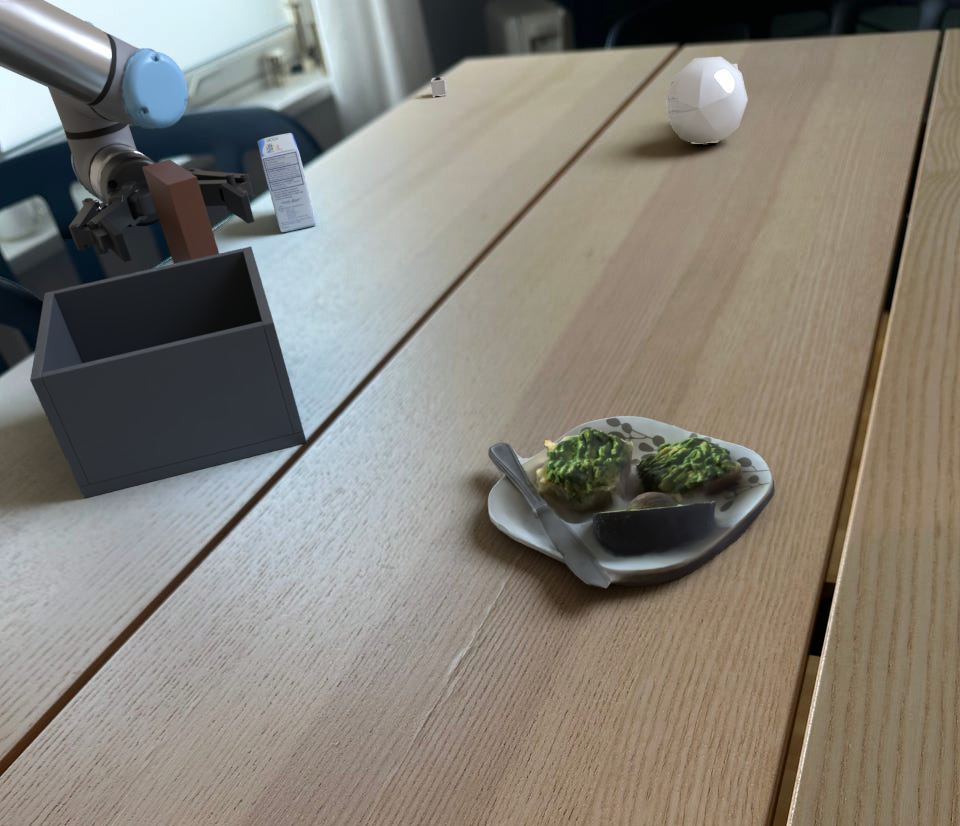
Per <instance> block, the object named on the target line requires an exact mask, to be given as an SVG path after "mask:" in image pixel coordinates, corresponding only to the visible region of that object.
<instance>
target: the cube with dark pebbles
mask: <svg viewBox="0 0 960 826" xmlns="http://www.w3.org/2000/svg"><path fill="white" fill-rule="evenodd" d="M430 87H431V94H432V97H433V96H438V95H443V94H446V92H447V93H448V85H447V79H446V76H442V77H441V76H437V77H432V78H431V80H430Z"/></svg>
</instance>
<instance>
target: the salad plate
mask: <svg viewBox="0 0 960 826" xmlns="http://www.w3.org/2000/svg"><path fill="white" fill-rule="evenodd" d="M542 444H543V446H544V447H545V448H544V449H542V450H541V451H540V452H538V453H536V454H535V455H533V456H532V457H525V458H524V457H521V456H520V455H518V454H517V452H516V451H515V449H514V448H513V447H512V446H511V444H510V443H508V442H498V443H495V444H493V445H491V446H490V447H488V454H487V455H488V457H489V459H490V461H491V463H493V465H494V466H495V468H496V470H497V471H498V473H499V477H500V478H499V480H497V482H496V483H495V484H494V485H493V487H492V488H491V490H490V491H489V494H488V498H487V508H488V517H489V520H490V522H491V523H492V524H493V525H494V526H495V527H496V528H497V529H498V530H499V531H501V532H502V533H503V534H505V535H506V536H508V537H509V538H511V539H512V540H514V541H516V542H518V543H520V544H522V545H524V546H526V547H528V548H530V549H533V550H535V551H537V552H539V553H542V554H544V555H546V556H547V557H550V558H552V559H553V560H556V561H559V562H560V563H563V564H564V565H566V567H567V568H568V569H569V571H570V572H572V574H574V575H575V576H576V577H577V578H578V579H580V580H581V581H582V582H583V583H584V584H586V585H589V586H593V587H598V588H601V589H607V588H608V587H609V585H610V584H613V585H617V586H626V587H627V586H628V587H640V586H642V587H643V586H650V585H657V584H663V583H668V582H671V581H675V580H677V579H680V578H683V577H686V576H687V575H690V574H692V573H693V572H695V571H697V570H698V569H700V568H701V567H703V566H704V565H705V564H706V563H708V562H709V561H711V560H712V559H714V558H715V557H716V556H718V555H719V554H721V553H722V552H723V551H725V550H726V549H727V548H728V547H730V546H731V545H732V544H734V543H735V542H736V541H738V540H739V539H740V538H741V537H742V535H744V533H746V532H747V530H748V529H749V528H750V527H751V525H753V523H754V522H755V521H756V520H757V518H758V517H759V516H760V515H761V514H762V512H763V511H764V509H765V508H766V507H767V506H768V505H769V503H770V501H771V500H772V498H773V497H774V495H775V491H776V490H775V489H776V488H775V480H774V478H773V472H772V471H771V469H770V467H769V465H768V464H767V462H766V461H765V460H764V458H763V456H761V455H759V454H758V453H757V452H756V451H755V450H752V449H750V448H748V447H745V446H742V445H739V444H736V443H734V442H730V441H729V442H728V441H725V440H723V439H718V438H714V437H711V436H707V435H702V434H700V433H697V432H694V431H689V430H686V429H683V428H681V427H678V426H677V425H673V424H668V423H666V422H662V421H660V420H654V419H652V418H648V417H644V416H643V417H642V416H633V415H619V416H612V417H606V418H605V417H604V418H601V419H595V420H590V421H588V422H583V423H581V424H579V425H577V426H575V427H573V428H572V429H570V430H569V431H567V432H566V433H564V434H563V435H561V436H560V437H559V438H558V439H556V440H555V441H553V442H552V440H551V439H550V438H546V439H545V440H544V441H543V442H542Z"/></svg>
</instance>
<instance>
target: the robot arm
mask: <svg viewBox="0 0 960 826" xmlns="http://www.w3.org/2000/svg"><path fill="white" fill-rule="evenodd" d="M0 68H3V69H5V70H8V71H10V72H12V73H15V74H17V75H19V76H20V77H21V76H22V77H23V78H25V79H28V80H30V81H33V82H35V83H38V84H39V85H42V86H44V87H46V88H47V89H48V91H49V94H50V97H51V100H52V102H53V105H54V107H55V110H56V112H57V114H58V115H57V116H58V117H59V120H60V123H61V126H62V127H63V132H64V134H65V139H66V141H67V144H68V146H69V147H68V148H69V149H70V152H71V153H70V160H71V167H72V170H73V173H74V174H75V176H76V178H77V181H78V182H79V184H80V185H82V186H83V188H84V190H86V191H87V192H88V193H89V194H90V195H92V196H93V197H95V198H96V199H94V198H91V197H86V198H84V199H83V200H81V203H82V207H81V208H80V209H79V212H78V213H77V214H76V216H74V219H73V220H72V221H71V223H70V224H69V225H68V229H69V231H70V234H71V237H72V240H73V241H74V244H75V247H76V249H77V251H79V252H84V251H87V250H88V249H89V248H90V246H91V245H92V244H94V246H95V248H96V252H97V253H98V255H106V254H108V253H109V251H110V250H111V251H112V252H113V253H114V254H115V255H116V256H117V257H118V258H119V259H120V260H121V261H122V262H123V263H127V262H130V261H132V258H131V255H130V252H129V249H128V245H127V243H126V241H125V238H124V235H123V233H122V232H123V231H124V230H125V229H126V228H134V227H135V226H136V227H148V226H152V225H155V224H157V223H159V222H160V220H159V217H158V214H157V211H156V208H155V205H154V202H153V199H152V196H151V193H150V190H149V187H148V184H147V181H146V178H145V175H144V172H143V168H142V167H144V166H148V165H151V164H155V163H156V161H154V160H152V159H151V158H150V157H148V156H147V155H145V154H143V153H142V152H140V151H139V150H138V149H137V147H136V144H135V141H134V138H133V135H132V132H131V128H130V126H136V127H141V128H142V129H144V130H153V129H167V128H170V127H172V126H174V125H175V124H177V123H178V122H179V121H180V119H181V118H182V117H183V115H184V114H185V111H186V109H187V105H188V99H189V88H188V84H187V80H186V76H185V74H184V72H183V71H182V69H181V67H180V66H179V65H178V63H177V62H176V60H174V59H173V58H172V57H170V55H168V54H165V53H164V52H160V51H156V50H154V49H153V48H148V47H146V48H144V47H142V48H139V47H136V46H135V45H132V44H130V43H128V42H126V41H124V40H122V39H121V38H118V37H116V35H115V36H114V35H113V34H110V33H108V32H106V31H104V30H102V29H101V28H100V27H97V26H95V25H94V24H93V22H91V21H87V20H83V19H81V18H79V17H77V16H76V15H74V14H72V13H70V12H67V11H65V10H64V9H62V8H60V7H58V6H56V5H54V4H52V3H51V2H48V1H47V0H0ZM187 171H188V172H190V173H191V174H193V175H194V176H196V177H197V180H198V184H199V187H200V190H201V194H202V197H203V200H204V204H205V207H226V209H227V211H228V212H230V213H231V214H233V215H234V216H236V217H238V219H240V220H242V221H243V222H244V223H246V224H251V223H254V222H255V218H254V213H253V211H252V207H251V201H252V200H254V199H255V194H254V190H253V186H252V183H251V179H250V175H249V174H247V173H236V172H224V171H209V170H207V171H206V170H202V169H200V168H196V167H192V168H189V169H188V170H187Z"/></svg>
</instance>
